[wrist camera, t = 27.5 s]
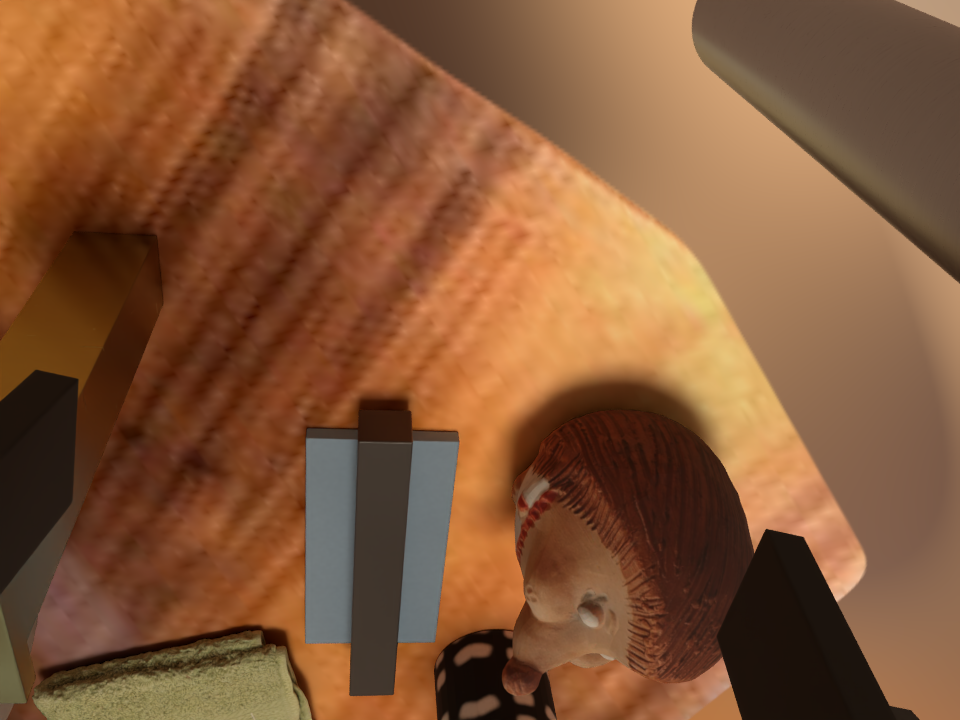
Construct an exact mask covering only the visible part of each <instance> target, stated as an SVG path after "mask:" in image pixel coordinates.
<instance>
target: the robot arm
mask: <svg viewBox="0 0 960 720" xmlns="http://www.w3.org/2000/svg"><path fill="white" fill-rule="evenodd" d="M78 382H79V379H77V378H73V377H68V376H64V375H59V374H55V373H50V372H45V371H41V370H35V371H34V372H32V373H31V374H30V375H29V376H28V377H27V378H26V379H25V380H24V381H22V382H21V383H20V384H19V385H18V386H17V387H16V388H15V389H14V390H12V391H11V392H10V393H9V394H8V395H7V396H6V397H5V398H3V399H2V400H1V401H0V595H1V593H2V592H3V591H4V590H5V588H6V587H7V586H8V585H9V583H10V582H11V581H12V579H13V578H14V577H15V576H16V574H17V573H18V572H19V570H20V569H21V568H22V567H23V565H24V564H25V563H26V561H27V560H28V559H29V558H30V556H31V555H32V554H33V552H34V551H35V550H36V549H37V547H38V546H39V545H40V543H41V542H42V541H43V540H44V538H45V537H46V536H47V534H48V533H49V532H50V531H51V529H52V528H53V527H54V526H55V524H56V523H57V522H58V520H59V519H60V518H61V517H62V515H63V514H64V513H65V511H66V510H67V509H68V508H69V506H70V505H71V504H72V502H73V482H74V462H75V442H76V422H77V402H78ZM717 640H718V643H719V646H720V649H721V652H722V656H723V659H724V662H725V665H726V669H727V672H728V675H729V678H730V682H731V685H732V688H733V691H734V694H735V698H736V701H737V704H738V708H739V711H740V714H741V717H742V720H919V719H918V717H916V715H915V714H914V713H913V712H912V711H911V710H907V709H902V708H897V707H892V706H889V704H888V702H887V700H886V699H885V696H884V694H883V692H882V690H881V689H880V686H879V684H878V683H877V681H876V679H875V677H874V675H873V673H872V671H871V669H870V667H869V665H868V663H867V661H866V659H865V657H864V655H863V653H862V651H861V649H860V647H859V645H858V644H857V641H856V639H855V637H854V636H853V633H852V631H851V629H850V628H849V626H848V624H847V622H846V620H845V618H844V616H843V614H842V612H841V610H840V608H839V606H838V604H837V602H836V600H835V598H834V596H833V594H832V592H831V590H830V588H829V586H828V584H827V582H826V580H825V578H824V576H823V574H822V572H821V571H820V569H819V567H818V565H817V563H816V561H815V559H814V557H813V555H812V553H811V551H810V549H809V547H808V545H807V543H806V541H805V539H804V537H801V536H796V535H792V534H787V533H782V532H778V531H773V530H769V529H766V530H765V532H764V534H763V536H762V538H761V541H760V543H759V545H758V547H757V549H756V551H755V554H754V556H753V558H752V560H751V562H750V564H749V567H748V569H747V571H746V573H745V575H744V577H743V580H742V582H741V584H740V586H739V588H738V590H737V593H736V595H735V597H734V599H733V601H732V603H731V606H730V608H729V610H728V612H727V614H726V616H725V619H724V621H723V623H722V625H721V627H720V629H719V632H718V634H717Z"/></svg>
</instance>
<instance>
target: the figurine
mask: <svg viewBox="0 0 960 720" xmlns="http://www.w3.org/2000/svg"><path fill="white" fill-rule="evenodd" d="M512 499H513V501H514V503H515V505H516V513H515V545H516V555H517V558H518V561H519V564H520V567H521V570H522V574H523V578H524V595H525V598H526V601H525V604H524V606H523V608H522V610H521V612H520V615H519V617H518V619H517V621H516V624H515V627H514V631H513V656H512V658H511V659H510V660H509V661H508V662H507V664H506V666H505V667H504V669H503V673H502V682H503V686H504V688H505V689H506V690H507V692H509V693H510V694H512V695H515V696H522V695H528V694H530V693H532V692H534V691H535V690H536V688H537V687H538V685H539V682H540V679H541V676H542V674H543V673H545V672H546V671H548V670H550V669H552V668H555V667H557V666H560V665H562V664H565V663H567V662H571V663H572V664H574V665H577V666H580V667H582V668H592V667H597V666H601V665H604V664H606V663H608V662H610V661H612V660H615V659H616V660H618V661H619V662H621V663H622V664H623V665H625V666H626V667H628V668H629V669H631V670H632V671H634V672H637V673H638V674H640V675H642V676H643V677H645V678H648V679H652V680H655V681H657V682H661V683H681V682H687V681H690V680H693V679H695V678H697V677H698V676H700V675H701V674H703V673H704V672H705V671H707V670H708V669H710V668H711V667H712V666H714V665H715V664H716V663H717V662H718V661H719V660H720V659H721V658H722V657H723V656H722V652H721V649H720V646H719V643H718V640H717V634H718V632H719V629H720V627H721V625H722V623H723V621H724V619H725V616H726V614H727V612H728V610H729V608H730V606H731V603H732V601H733V599H734V597H735V595H736V593H737V590H738V588H739V586H740V584H741V582H742V580H743V577H744V575H745V573H746V571H747V569H748V567H749V564H750V562H751V560H752V558H753V556H754V549H753V545H752V541H751V537H750V533H749V529H748V524H747V519H746V516H745V513H744V510H743V508H742V505H741V502H740V499H739V496H738V493H737V491H736V489H735V488H734V486H733V484H732V482H731V480H730V478H729V476H728V474H727V472H726V470H725V468H724V466H723V465H722V463H721V461H720V460H719V458H718V457H717V456H716V455H715V454H714V453H713V451H712V450H711V449H710V448H709V447H708V446H707V445H706V444H705V443H704V442H703V441H702V440H701V439H700V438H699V437H698V436H697V435H696V434H694V433H693V432H691V431H690V430H688V429H687V428H685V427H684V426H682V425H681V424H679V423H677V422H675V421H673V420H671V419H669V418H667V417H665V416H662V415H658V414H655V413H651V412H642V411H636V410H607V411H597V412H593V413H589V414H586V415H584V416H582V417H579V418H574V419H572V420H570V421H568V422H567V423H565V424H563V425H562V426H560V427H559V428H557V429H556V430H554V431H553V432H552V433H551V434H550V435H549V436H548V437H547V438H546V439H545V440H544V441H543V442H542V443H541V446H540V450H539V454H538V456H537V457H536V459H535V460H534V462H533V464H532V465H531V466H529V467H528V468H527V469H526V470H525V471H524V472H522V473H521V474H520V475H519V476H518V477H517V478H516V480H515V482H514V484H513V488H512Z"/></svg>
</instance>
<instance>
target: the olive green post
mask: <svg viewBox="0 0 960 720" xmlns="http://www.w3.org/2000/svg"><path fill="white" fill-rule="evenodd" d="M162 306H163V296H162V285H161V275H160V265H159V254H158V244H157V236H150V235H131V234H113V233H95V232H76V231H74V232H73V233H72V235H71V236H70V238H69V239H68V241H67V242H66V244H65V245H64V247H63V248H62V250H61V251H60V253H59V254H58V256H57V257H56V259H55V260H54V262H53V263H52V265H51V266H50V268H49V269H48V271H47V272H46V274H45V275H44V277H43V278H42V280H41V281H40V283H39V284H38V286H37V287H36V289H35V290H34V292H33V293H32V295H31V296H30V298H29V299H28V301H27V302H26V304H25V305H24V307H23V308H22V310H21V311H20V313H19V314H18V316H17V317H16V319H15V320H14V322H13V323H12V325H11V326H10V328H9V329H8V331H7V332H6V334H5V335H4V337H3V338H2V340H1V341H0V401H1V400H2V399H3V398H5V397H6V396H7V395H8V394H9V393H10V392H11V391H12V390H14V389H15V388H16V387H17V386H18V385H19V384H20V383H21V382H22V381H24V380H25V379H26V378H27V377H28V376H29V375H30V374H31V373H32V372H34V371H35V370H41V371H45V372H50V373H55V374H59V375H64V376H68V377H73V378H77V379H79V382H78V402H77V422H76V442H75V462H74V482H73V502H72V504H71V505H70V506H69V508H68V509H67V510H66V511H65V513H64V514H63V515H62V517H61V518H60V519H59V520H58V522H57V523H56V524H55V526H54V527H53V528H52V529H51V531H50V532H49V533H48V534H47V536H46V537H45V538H44V540H43V541H42V542H41V543H40V545H39V546H38V547H37V549H36V550H35V551H34V552H33V554H32V555H31V556H30V558H29V559H28V560H27V561H26V563H25V564H24V565H23V567H22V568H21V569H20V570H19V572H18V573H17V574H16V576H15V577H14V578H13V579H12V581H11V582H10V583H9V585H8V586H7V587H6V588H5V590H4V591H3V592H2V593H1V595H0V704H18V703H26V702H27V700H28V697H29V694H30V692H31V689H32V686H33V684H34V681H35V679H36V675H35V671H34V667H33V663H32V659H31V655H30V651H29V647H28V643H27V640H28V638H29V635H30V633H31V630H32V628H33V625H34V623H35V621H36V618H37V616H38V613H39V611H40V608H41V606H42V603H43V601H44V598H45V596H46V593H47V591H48V588H49V586H50V583H51V581H52V578H53V576H54V573H55V571H56V568H57V566H58V564H59V561H60V559H61V556H62V554H63V551H64V549H65V546H66V544H67V541H68V539H69V536H70V534H71V531H72V529H73V526H74V524H75V521H76V519H77V516H78V514H79V511H80V509H81V507H82V504H83V502H84V499H85V497H86V494H87V492H88V489H89V487H90V484H91V482H92V479H93V477H94V474H95V472H96V469H97V467H98V464H99V462H100V459H101V457H102V455H103V452H104V450H105V447H106V445H107V442H108V440H109V437H110V435H111V432H112V430H113V427H114V425H115V422H116V420H117V417H118V415H119V412H120V410H121V407H122V405H123V402H124V400H125V398H126V395H127V393H128V390H129V388H130V385H131V383H132V380H133V378H134V375H135V373H136V370H137V368H138V365H139V363H140V360H141V358H142V355H143V353H144V350H145V348H146V346H147V343H148V341H149V338H150V336H151V333H152V331H153V328H154V326H155V323H156V321H157V318H158V316H159V313H160V311H161V308H162Z"/></svg>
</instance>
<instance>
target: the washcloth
mask: <svg viewBox="0 0 960 720" xmlns="http://www.w3.org/2000/svg"><path fill="white" fill-rule="evenodd" d="M34 692H35V693H34V695H33V696H32V699H33V700H34V703H35V705H36V706H37V708H38V709H39V710H40V711H41V712H42V714H43V715H44V716H45V717H46V718H47V720H312V718H311V712H310V707H309V704H308V700H307V699H306V697H305V695H304V693H303V692H302V690H301V689H300V688H299V686H298V684H297V680H296V677H295V674H294V671H293V669H292V667H291V664H290V662H289V659H288V654H287V649H286V647H285V646H278V647H276V645H274V644H267V645H266V643H265V639H264V636H263V632H262V631H260V630H256V631H252V632H251V631H250V630H249V631H244V632H242V633H238V634H231V635H229V636H223V637H221V638H216V639H214V640H211V639H203V640H198V641H197V642H195V643H192V644H189V645H184V646H180V647H172V648H166V649H162V650H160V651H155V652H150V651H149V652H148V653H145V654H142V653H141V654H139V655H135V656H129V657H127V658H124V659H113V660H112V661H105V662H104V663H103V664H94V665H90V666H88V667H85V666H84V667H78V668H76V669H73V670H69V671H60V672H56V673H54V674H53V675H52V676H51V677H49V678H47V679H45V680H44V681H42V682H41V683H40V684H39V685H37V686H36V687H35V688H34Z"/></svg>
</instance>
